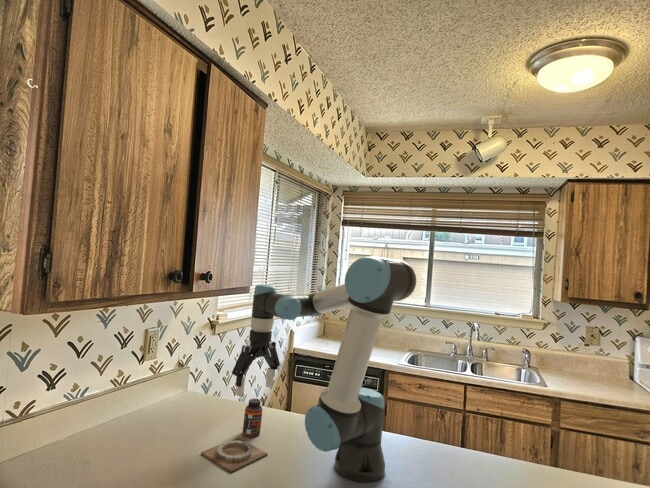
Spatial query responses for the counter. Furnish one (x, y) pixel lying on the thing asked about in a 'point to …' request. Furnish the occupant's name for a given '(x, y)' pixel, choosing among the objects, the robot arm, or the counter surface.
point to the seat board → (234, 451)
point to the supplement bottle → (252, 418)
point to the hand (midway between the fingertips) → (254, 391)
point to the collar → (239, 457)
